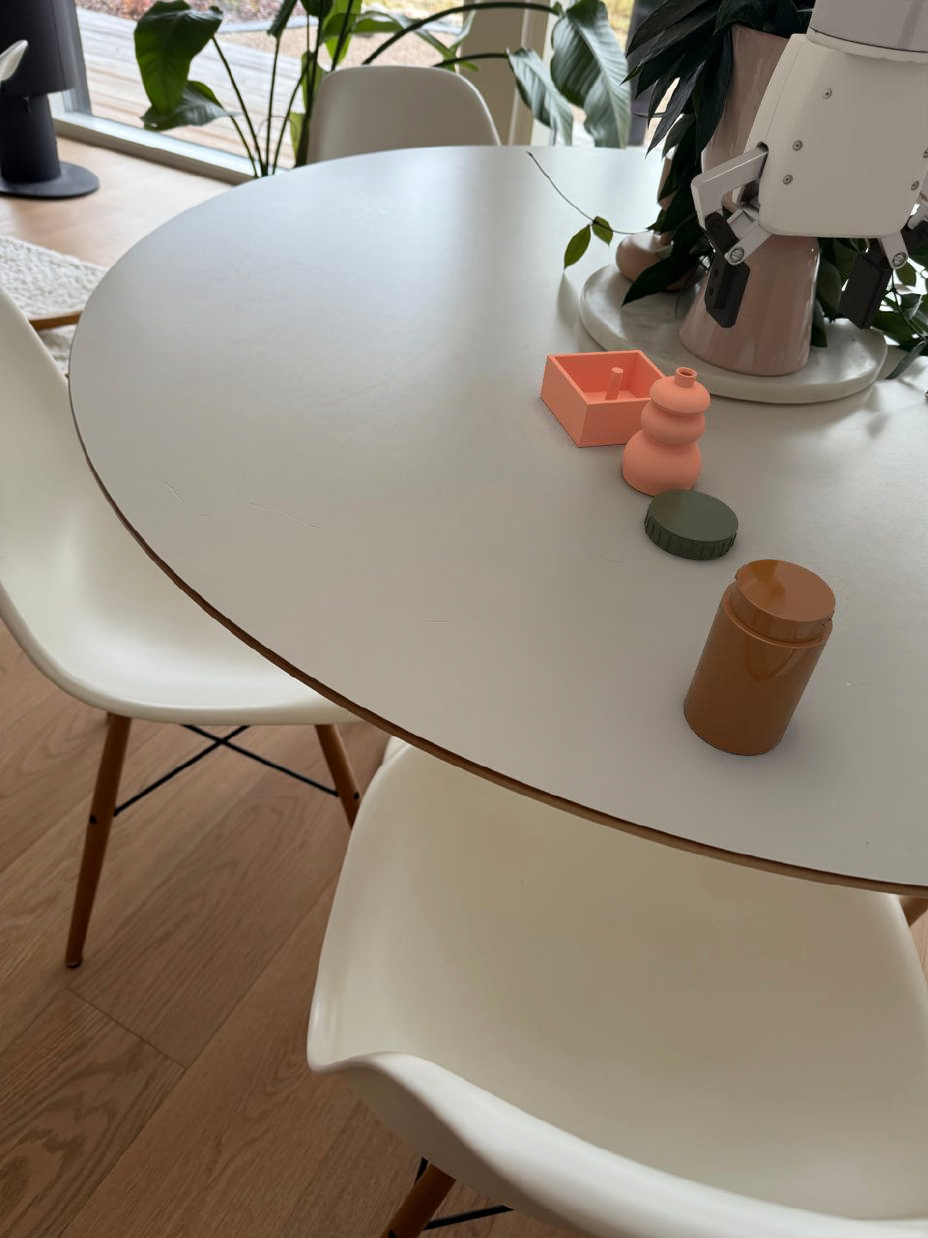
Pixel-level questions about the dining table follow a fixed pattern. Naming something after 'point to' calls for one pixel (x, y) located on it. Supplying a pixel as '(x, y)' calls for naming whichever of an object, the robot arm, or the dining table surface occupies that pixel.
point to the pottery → (631, 413)
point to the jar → (759, 656)
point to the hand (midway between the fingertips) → (786, 319)
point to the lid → (691, 524)
